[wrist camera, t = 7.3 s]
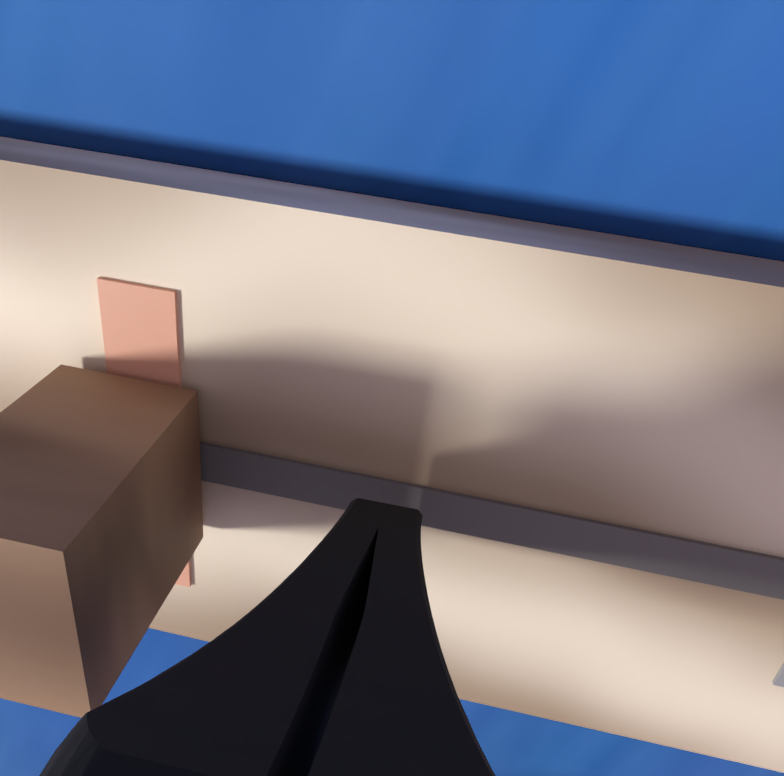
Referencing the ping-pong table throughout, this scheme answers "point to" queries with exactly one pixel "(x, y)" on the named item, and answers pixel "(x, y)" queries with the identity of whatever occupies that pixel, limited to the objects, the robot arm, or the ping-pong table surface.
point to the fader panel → (446, 421)
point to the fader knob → (91, 528)
